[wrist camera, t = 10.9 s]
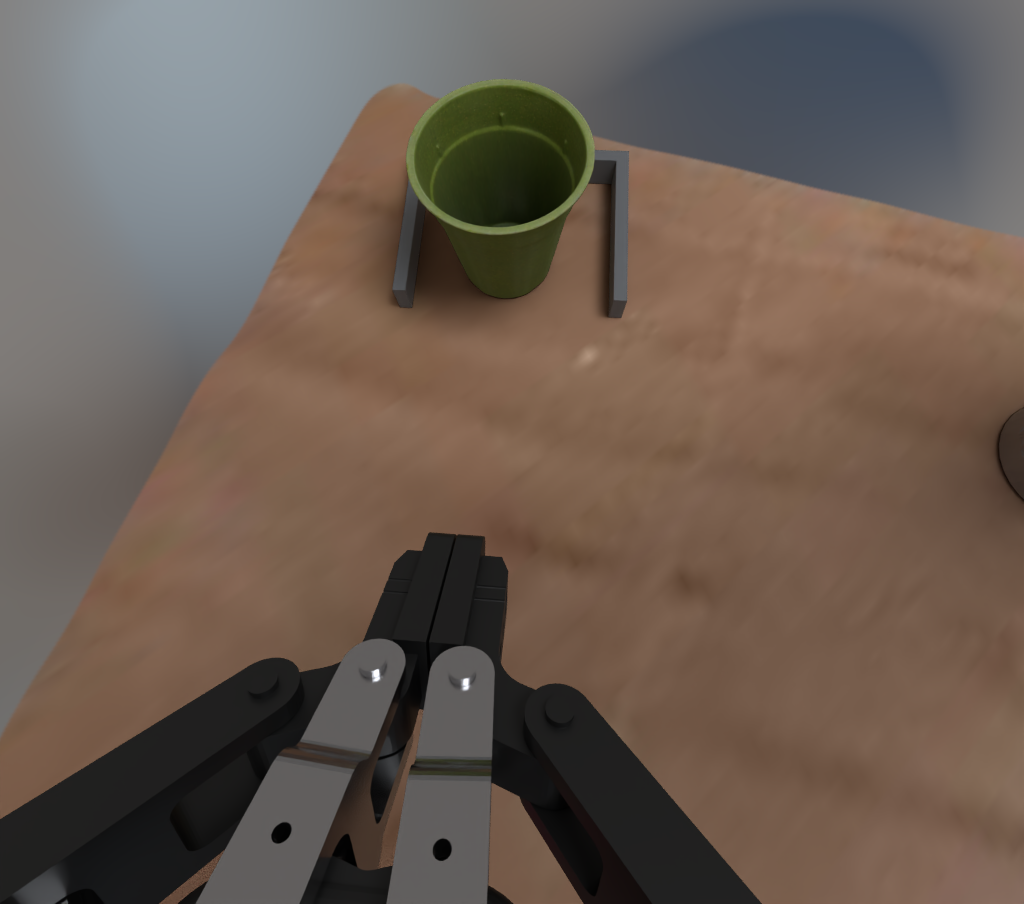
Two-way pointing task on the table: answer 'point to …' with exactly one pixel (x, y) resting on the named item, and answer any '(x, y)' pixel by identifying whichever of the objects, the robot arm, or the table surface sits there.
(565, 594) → the table surface
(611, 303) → the bay
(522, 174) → the plant pot
